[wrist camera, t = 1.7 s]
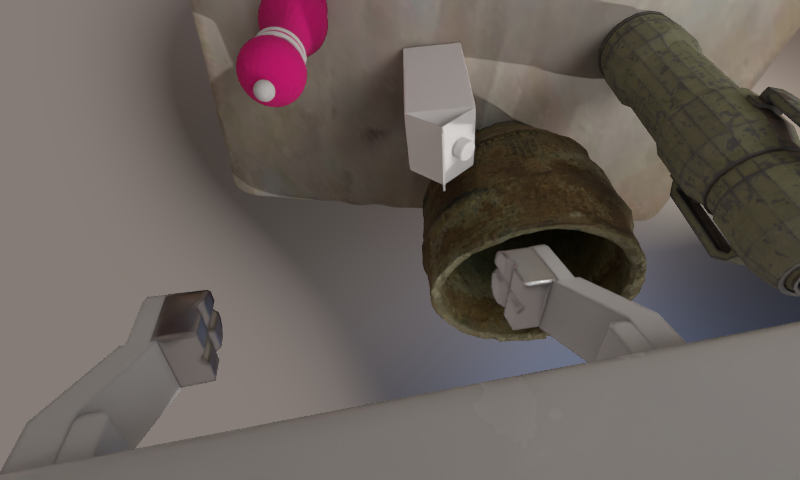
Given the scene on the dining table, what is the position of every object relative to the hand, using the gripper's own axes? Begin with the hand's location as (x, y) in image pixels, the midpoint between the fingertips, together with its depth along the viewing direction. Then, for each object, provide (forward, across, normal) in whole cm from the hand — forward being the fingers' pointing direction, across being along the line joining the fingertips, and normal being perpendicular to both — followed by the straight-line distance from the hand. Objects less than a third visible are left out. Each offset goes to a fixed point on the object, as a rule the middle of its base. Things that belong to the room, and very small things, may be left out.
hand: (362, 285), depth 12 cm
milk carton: (+45, -15, +6) cm, 48 cm away
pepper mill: (+46, 0, -2) cm, 47 cm away
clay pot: (+45, -27, +20) cm, 56 cm away
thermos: (+39, -39, +3) cm, 56 cm away
